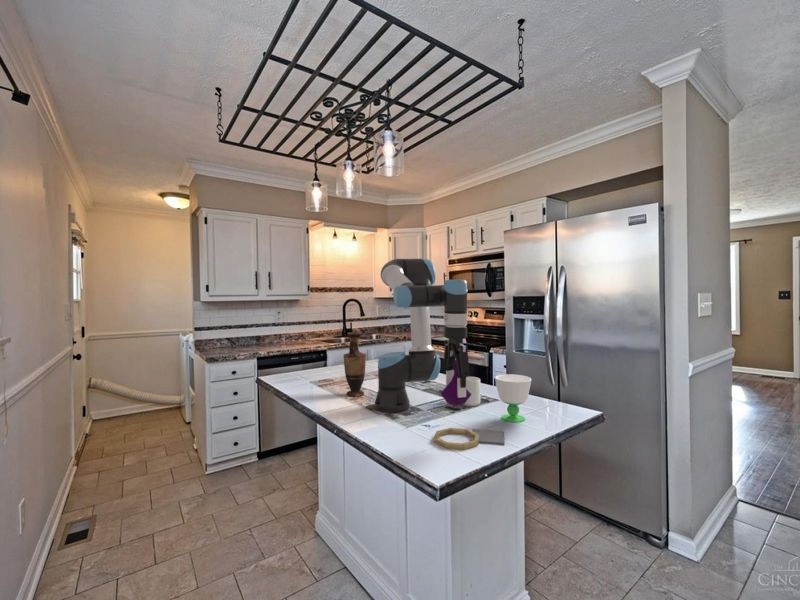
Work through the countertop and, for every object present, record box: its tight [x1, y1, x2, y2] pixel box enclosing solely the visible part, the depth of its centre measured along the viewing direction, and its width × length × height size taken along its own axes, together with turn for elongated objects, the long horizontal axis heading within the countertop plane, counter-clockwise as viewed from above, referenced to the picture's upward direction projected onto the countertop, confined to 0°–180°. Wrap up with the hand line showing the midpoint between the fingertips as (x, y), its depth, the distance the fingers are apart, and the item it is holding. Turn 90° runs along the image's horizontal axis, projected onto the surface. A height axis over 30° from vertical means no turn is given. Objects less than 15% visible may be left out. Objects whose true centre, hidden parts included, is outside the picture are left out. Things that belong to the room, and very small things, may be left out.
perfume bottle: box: [440, 350, 471, 407], centre depth 132 cm, size 8×8×18 cm
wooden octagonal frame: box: [433, 427, 479, 451], centre depth 132 cm, size 14×14×2 cm
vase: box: [343, 331, 367, 398], centre depth 190 cm, size 11×11×30 cm
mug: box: [462, 376, 481, 407], centre depth 174 cm, size 12×9×11 cm
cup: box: [494, 373, 532, 423], centre depth 153 cm, size 14×14×16 cm
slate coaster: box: [469, 428, 506, 446], centre depth 134 cm, size 11×11×1 cm
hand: (455, 392), depth 132 cm, fingers closed on perfume bottle, 9 cm apart
